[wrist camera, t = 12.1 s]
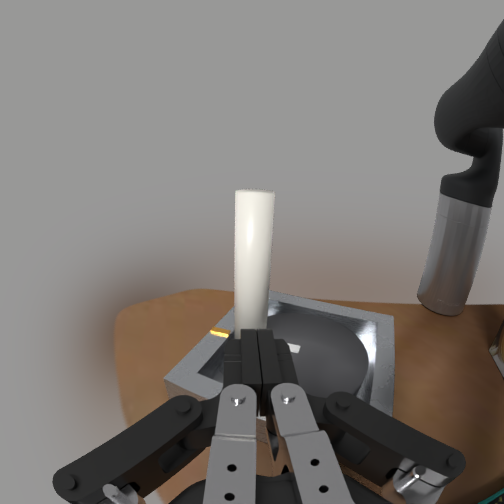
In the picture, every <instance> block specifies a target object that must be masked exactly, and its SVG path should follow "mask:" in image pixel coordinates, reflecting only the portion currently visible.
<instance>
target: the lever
mask: <svg viewBox="0 0 504 504" xmlns="http://www.w3.org/2000/svg"><path fill="white" fill-rule="evenodd" d="M274 201H275V192H273V191H269V190H263V189H242V190H237V191H236V196H235V303H234V304H235V339H240V329H256V330H257V329H272V330H273V335H274V339H284V340H285V342H286V343H287V344H288V345H289V347H290V351H291V355H292V359H293V363H294V367H295V371H296V375H297V379H298V383H299V386H300V387H301V388H302V389H303V390H304V391H305V392H306V393H307V394H309V395H312V396H316V397H322V398H328V396H329V395H331V394H332V393H334V392H339V391H343V392H348V393H350V394H352V395H354V396H356V395H357V394H358V392H359V390H360V388H361V385H362V383H363V381H364V378H365V376H366V374H367V370H368V365H369V359H368V353H367V350H366V348H365V346H364V344H363V343H362V341H361V340H360V339H359V338H358V336H357V335H356V334H354V333H353V332H352V331H351V330H350V329H348V328H347V327H345V326H343V325H342V324H340V323H338V322H335V321H333V320H331V319H328V318H325V317H321V316H317V315H312V314H305V313H283V314H276V315H271V316H267V314H268V300H269V284H270V270H271V255H272V237H273V220H274Z"/></svg>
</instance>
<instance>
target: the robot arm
mask: <svg viewBox="0 0 504 504" xmlns="http://www.w3.org/2000/svg"><path fill="white" fill-rule="evenodd" d="M434 126H435V132H436V134H437V137H438V139H439V141H440V142H441V143H442V144H443V145H444V146H445V147H446V148H448V149H450V150H453V151H455V152H459V153H462V154H466V155H469V156H473V157H474V158H473V163H472V166H471V167H470V168H469V169H468V170H466V171H464V172H461V173H457V174H449V175H445V176H443V178H442V180H441V186H440V195H439V202H438V208H437V214H436V220H435V225H434V230H433V235H432V240H431V244H430V249H429V253H428V257H427V261H426V265H425V269H424V272H423V276H422V279H421V283H420V286H419V289H418V293H417V297H418V299H419V301H420V302H421V303H422V304H423V305H424V306H425V307H427V308H428V309H430V310H432V311H434V312H436V313H439V314H443V315H449V316H454V315H458V314H460V313H461V312H462V311H463V308H464V306H465V303H466V301H467V298H468V295H469V292H470V290H471V287H472V284H473V281H474V278H475V274H476V271H477V268H478V264H479V261H480V258H481V254H482V250H483V246H484V242H485V238H486V234H487V229H488V224H489V219H490V214H491V207H492V202H493V198H494V194H495V192H496V189H497V185H498V179H499V171H500V162H501V154H502V144H503V143H502V142H503V128H504V20H503V21H502V23H501V24H500V25H499V27H498V28H497V30H496V31H495V33H494V34H493V36H492V38H491V39H490V40H489V42H488V43H487V45H486V47H485V49H484V50H483V52H482V53H481V55H480V56H479V58H478V59H477V61H476V62H475V63H474V64H473V66H472V67H471V68H470V69H469V70H468V71H467V73H466V74H465V75H464V76H463V77H462V78H461V79H459V80H458V81H457V82H456V83H455V84H454V85H452V86H451V87H450V88H449V89H448V90H447V91H446V92H445V93H444V94H443V95H442V97H441V99H440V100H439V102H438V105H437V108H436V111H435V117H434ZM258 414H260V417H264V416H265V417H266V428H265V432H266V437H267V442H268V446H269V451H270V456H271V460H272V467H273V477H267V476H261V475H256V417H258ZM209 446H211V449H210V456H209V463H208V470H207V477H206V479H205V480H202V481H199V482H196V483H195V484H193V485H191V486H189V487H188V488H186V489H185V490H184V491H182V492H181V493H180V494H179V495H178V496H177V497H176V498H174V499H173V500H172V501H171V502H170V503H169V504H436V502H437V500H438V498H439V496H440V495H441V493H442V491H443V489H444V487H445V486H446V485H447V484H448V483H450V482H451V481H452V480H454V479H455V478H456V477H457V476H459V475H460V474H461V473H462V472H463V470H464V468H465V465H466V461H465V457H464V455H463V454H462V453H461V452H460V451H458V450H456V449H454V448H452V447H450V446H448V445H445V444H443V443H441V442H439V441H437V440H435V439H433V438H431V437H429V436H427V435H425V434H423V433H421V432H419V431H417V430H415V429H413V428H411V427H409V426H408V425H406V424H404V423H402V422H400V421H398V420H396V419H394V418H393V417H391V416H389V415H387V414H385V413H384V412H382V411H380V410H378V409H376V408H375V407H373V406H371V405H369V404H368V403H366V402H364V401H363V400H361V399H359V398H357V397H356V396H354V395H352V394H350V393H348V392H343V391H339V392H334V393H332V394H331V395H329V396H328V398H322V397H316V396H312V395H309V394H307V393H306V392H305V391H304V390H303V389H302V388H301V387H300V386H299V383H298V379H297V375H296V371H295V367H294V363H293V359H292V355H291V351H290V347H289V345H288V344H287V343H286V342H285V340H284V339H274V335H273V330H272V329H257V330H256V329H240V339H229V340H228V342H227V343H226V345H225V349H224V374H223V388H222V390H221V392H220V393H219V394H218V395H217V396H215V397H214V398H211V399H208V400H203V401H198V400H197V399H196V398H194V397H192V396H188V395H178V396H175V397H173V398H171V399H170V400H168V401H167V402H165V403H164V404H163V405H161V406H160V407H158V408H157V409H156V410H154V411H153V412H151V413H150V414H148V415H147V416H145V417H144V418H142V419H141V420H139V421H138V422H137V423H135V424H134V425H132V426H130V427H129V428H127V429H126V430H124V431H123V432H121V433H120V434H118V435H117V436H115V437H113V438H112V439H110V440H109V441H107V442H106V443H104V444H102V445H101V446H99V447H98V448H96V449H94V450H92V451H91V452H89V453H87V454H86V455H84V456H82V457H81V458H79V459H77V460H75V461H74V462H72V463H70V464H68V465H67V466H65V467H63V468H61V469H59V470H58V471H57V472H56V473H55V474H54V476H53V486H54V489H55V491H56V493H57V494H58V495H59V496H61V497H62V498H63V499H65V500H66V501H68V502H69V503H70V504H146V503H145V501H144V499H143V498H144V497H146V496H147V495H148V494H150V493H151V492H153V491H154V490H155V489H157V488H158V487H159V486H161V485H162V484H163V483H165V482H166V481H167V480H169V479H170V478H171V477H172V476H174V475H175V474H176V473H177V472H179V471H180V470H181V469H182V468H184V467H185V466H186V465H187V464H188V463H190V462H191V461H192V460H193V459H194V458H195V457H197V456H198V455H199V454H200V453H201V452H202V451H204V449H205V448H206V447H209ZM338 461H339V462H340V463H342V464H343V465H345V466H347V467H348V468H350V469H351V470H353V471H355V472H356V473H358V474H360V475H361V476H363V477H365V478H366V479H368V480H370V481H371V482H373V483H375V484H377V485H378V486H380V487H382V495H383V497H381V496H380V495H378V494H376V493H375V492H373V491H371V490H370V489H368V488H367V487H365V486H363V485H362V484H360V483H359V482H357V481H356V480H354V479H353V478H351V477H349V476H347V475H344V474H342V472H341V469H340V466H339V464H338Z"/></svg>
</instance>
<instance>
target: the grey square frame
mask: <svg viewBox="0 0 504 504" xmlns="http://www.w3.org/2000/svg"><path fill="white" fill-rule="evenodd" d="M283 313H305V314H312V315H317V316H321V317H325V318H328V319H331V320H333V321H335V322H338V323H340V324H342V325H343V326H345V327H347V328H348V329H350V330H351V331H352V332H353V333H354V334H356V335H357V336H358V338H359V339H360V340H361V341H362V343H363V344H364V346H365V348H366V350H367V353H368V359H369V365H368V370H367V374H366V376H365V378H364V381H363V383H362V385H361V388H360V390H359V392H358V394H357V395H356V397H357V398H359V399H361V400H363V401H364V402H366V403H368V404H369V405H371V406H373V407H375V408H376V409H378V410H380V411H382V412H384V413H385V414H387V415H389V416H391V417H392V412H393V397H394V368H395V349H394V319H393V316H390V315H385V314H379V313H374V312H369V311H364V310H359V309H354V308H349V307H344V306H339V305H334V304H330V303H325V302H320V301H316V300H311V299H306V298H302V297H297V296H293V295H288V294H284V293H279V292H275V291H271V290H269V300H268V314H267V316H271V315H276V314H283ZM229 339H235V306H234V307H233V308H232V309H231V310H230V311H229V312H228V313H227V314H226V315H225V316H224V317H223V318H222V319H221V320H220V321H219V322H218V323H217V324H216V325H215V327H213V328H212V329H211V331H210V332H209V333H208V334H207V335H206V336H205V337H204V338H203V339H202V340H201V341H200V342H199V343H198V344H197V345H196V346H195V347H194V348H193V349H192V350H191V351H190V352H189V353H188V354H187V355H186V356H185V357H184V358H183V359H182V360H181V361H180V362H179V363H178V364H177V365H176V366H175V367H174V368H173V369H172V370H171V371H170V372H169V373H168V374H167V375H166V376H165V377H164V382H165V386H166V389H167V393H168V396H169V400H170V399H171V398H173V397H175V396H178V395H188V396H192V397H194V398H196V399H197V400H198V401H203V400H208V399H211V398H214V397H215V396H217V395H218V394H219V393H220V392H221V390H222V388H223V374H224V349H225V345H226V343H227V342H228V340H229ZM265 428H266V417H265V416H264V417H260V414H258V417H256V440H259V441H262V442H265V443H268V442H267V437H266V432H265ZM338 462H339V461H338Z"/></svg>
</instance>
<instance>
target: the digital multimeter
mask: <svg viewBox="0 0 504 504" xmlns="http://www.w3.org/2000/svg"><path fill="white" fill-rule="evenodd" d="M487 503H488V504H504V488H503V489H502V490H500V491H499V492H497V493H495V494H494V495H492V496H490V497H489V498H487V499H485V500H483V501H481V502H480V503H478V504H487Z"/></svg>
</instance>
